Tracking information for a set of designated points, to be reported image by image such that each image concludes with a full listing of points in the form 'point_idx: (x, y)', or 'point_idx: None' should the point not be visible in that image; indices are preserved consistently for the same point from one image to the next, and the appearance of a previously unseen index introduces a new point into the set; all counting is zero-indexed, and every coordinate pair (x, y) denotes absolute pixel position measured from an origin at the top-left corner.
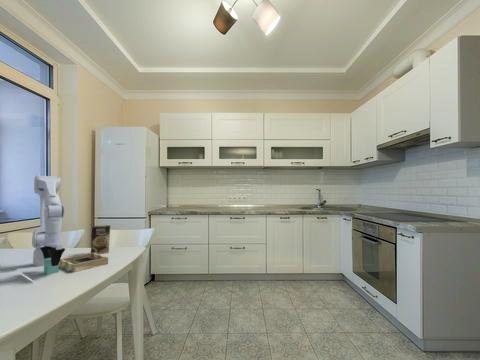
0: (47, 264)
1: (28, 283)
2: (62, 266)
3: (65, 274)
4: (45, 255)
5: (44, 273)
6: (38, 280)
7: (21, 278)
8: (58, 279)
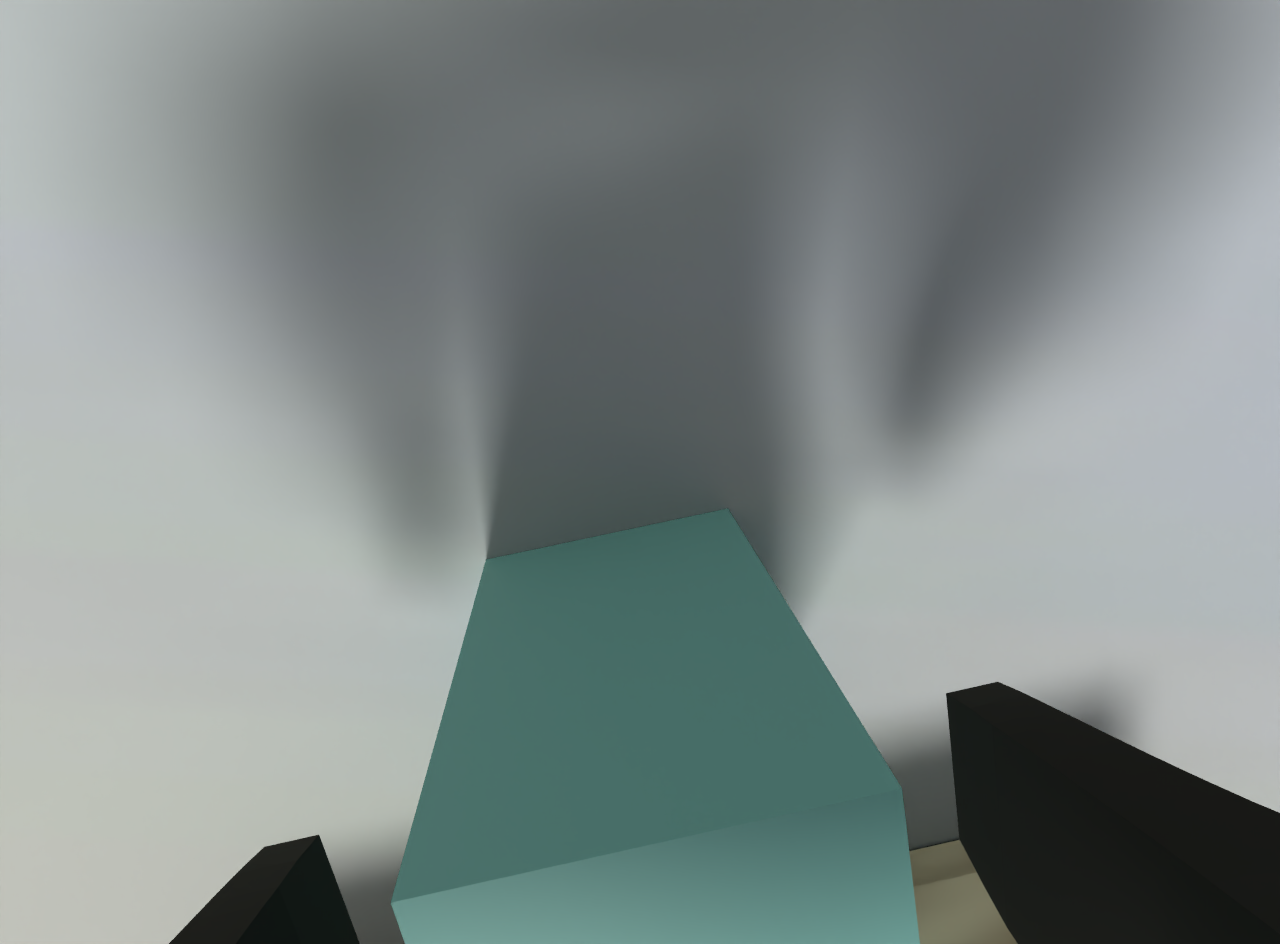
0: (467, 748)
1: (181, 145)
2: None
3: None
4: (1196, 925)
5: (681, 537)
6: (307, 373)
7: (824, 31)
8: (85, 737)
